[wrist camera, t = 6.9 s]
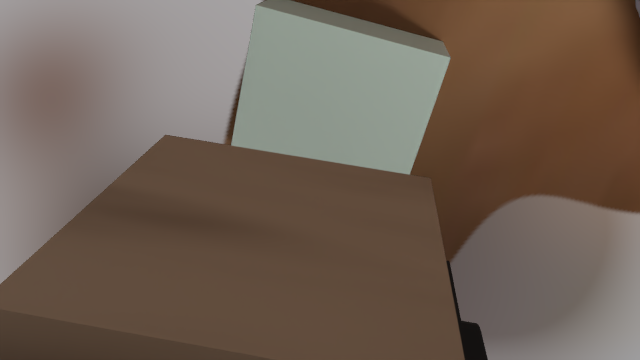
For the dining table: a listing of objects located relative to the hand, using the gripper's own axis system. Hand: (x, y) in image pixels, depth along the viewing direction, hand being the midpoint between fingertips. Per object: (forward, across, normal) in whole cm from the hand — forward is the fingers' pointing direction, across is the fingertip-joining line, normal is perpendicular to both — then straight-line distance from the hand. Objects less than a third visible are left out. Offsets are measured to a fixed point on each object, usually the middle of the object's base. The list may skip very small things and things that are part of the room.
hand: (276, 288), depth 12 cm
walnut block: (+1, 0, 0) cm, 1 cm away
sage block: (+15, 0, 0) cm, 15 cm away
